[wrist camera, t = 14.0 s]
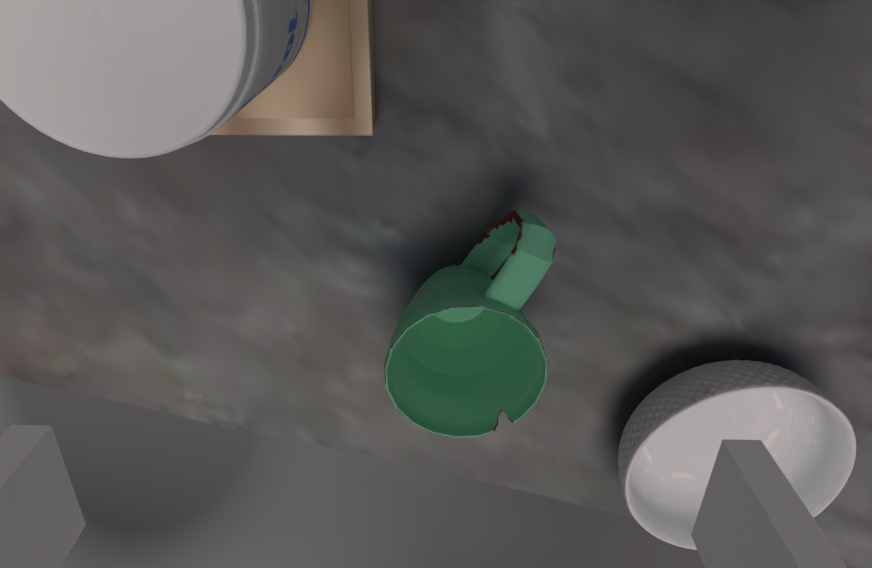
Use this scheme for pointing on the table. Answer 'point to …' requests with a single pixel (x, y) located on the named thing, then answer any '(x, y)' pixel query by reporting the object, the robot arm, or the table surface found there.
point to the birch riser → (320, 80)
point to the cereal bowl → (729, 419)
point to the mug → (474, 336)
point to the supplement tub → (142, 67)
